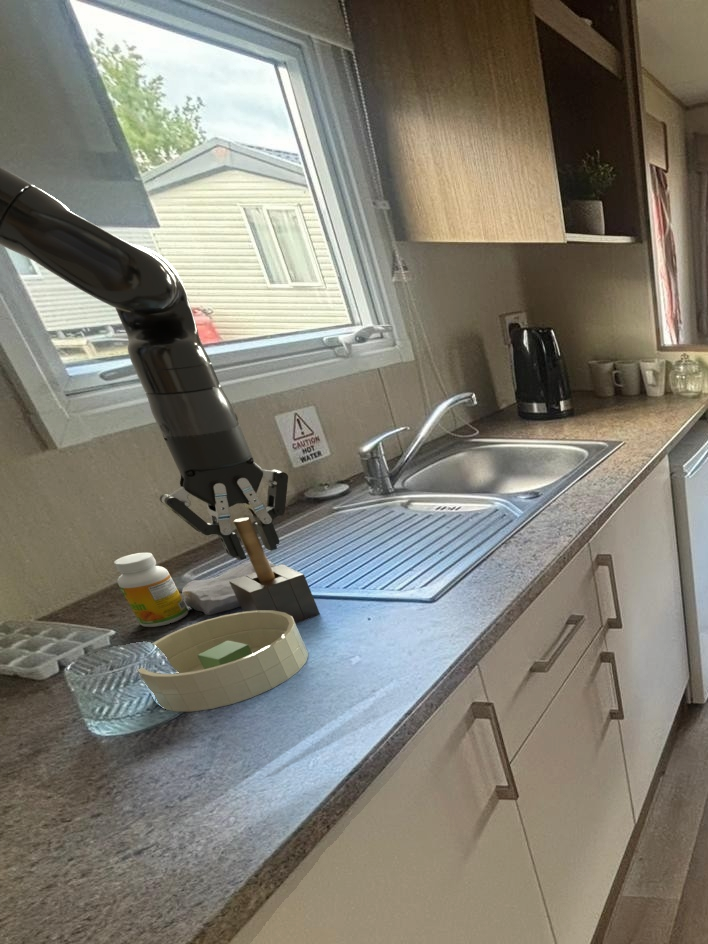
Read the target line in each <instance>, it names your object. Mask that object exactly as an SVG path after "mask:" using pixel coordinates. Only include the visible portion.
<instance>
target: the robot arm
mask: <svg viewBox="0 0 708 944" xmlns="http://www.w3.org/2000/svg"><path fill="white" fill-rule="evenodd" d="M0 246H2V247H4V248H6V249H8V250H10V251H13V252H14V253H17V254H19V255H22V256H24V257H25V258H28V259H30V260H32V261H33V262H35V263H37V264H38V265H39V266H41V267H43V268H44V269H46V270H47V271H49V272H51V273H52V274H54V275H55V276H57V277H59V278H60V279H61V280H64V281H65V282H67V283H69V284H70V285H72V286H74V287H75V288H77V289H78V290H81V291H82V292H84V293H85V294H88V295H89V296H90V297H93V298H95V299H97V300H98V301H101V302H102V303H104V304H106V305H109V306H110V307H113V308H115V311H116V313H117V315H118V318H119V320H120V322H121V325H122V326H123V329H124V331H125V333H126V336H127V340H128V341H127V353H128V356H129V359H130V362H131V365H132V367H133V369H134V371H135V373H136V375H137V378H138V380H139V382H140V384H141V386H142V389H143V390H144V393H145V395H146V398H147V400H148V404H149V407H150V411H151V413H152V416H153V419H154V420H155V422H156V425H157V427H158V429H159V431H160V433H161V435H162V437H163V440H164V442H165V445H166V446H167V449H168V450H169V452H170V454H171V457H172V459H173V460H174V464H175V465H176V467H177V469H178V472H179V474H180V480H179V487H178V488H176V489H175V490H173V491H171V492H169V494H166V493H164V494H162V495H160V496H159V501H160V503H162V504H163V505H164V506H165V507H167V508H168V509H169V510H170V511H171V512H173V513H174V514H175V515H176V516H177V517H179V518H180V519H182V521H184V522H185V523H186V524H188V525H189V526H190V528H193V530H194V531H196V532H198V533H201V534H202V535H205V536H211V535H217V536H218V538H219V541H220V542H221V545H222V547H223V549H224V551H225V553H226V554H227V555H228V556H230V557H232V558H235V559H236V560H239V561H242V560H246V559H247V555H246V553H245V551H244V548H243V545H242V544H241V541H240V539H239V538H238V535H237V533H236V532H233V527H232V523H231V519H230V517H231V511H230V508H231V507H233V506H235V505H237V504H242V505H243V506H244V508H246V509H247V511H248V512H249V513H250V515H251V516H252V518H253V519H254V520H255V521H256V522H255V523H254V525H255V527H256V530H257V532H258V535H259V537H260V540H261V542H262V544H263V546H264V548H265V549H266V550H269V551H270V552H273V551H275V550H278V547H277V546H278V545H280V539H279V536H278V534H277V531H276V529H275V526H274V523H273V521H274V520H275V519H277V518H278V517H280V516H283V515H285V512H286V504H287V493H288V483H289V475H288V473H287V472H284V471H281V470H278V469H271V470H269V469H263V468H262V467H261V466H260V465H259V464H257V463H256V461H255V459H254V457H253V454H252V452H251V450H250V447H249V445H248V442H247V440H246V438H245V434H244V433H243V430H242V427H241V425H240V422H239V418H238V415H237V413H236V412H235V411H234V408H233V406H232V403H231V402H230V400H229V398H228V397H227V395H226V393H225V391H224V390H223V388H222V385H221V384H220V381H219V378H218V376H217V373H216V371H215V369H214V365H213V364H212V362H211V360H210V356H209V355H208V353H207V351H206V349H205V346H204V345H203V343H202V341H201V338H200V335H199V331H198V327H197V323H196V320H195V316H194V313H193V309H192V306H191V304H190V301H189V297H188V295H187V294H188V293H187V292H186V289H185V287H184V284H183V281H182V280H181V279H182V278H181V277H180V276H179V274H178V272H177V270H176V269H175V268H174V267H173V265H172V264H171V263H170V262H169V261H168V260H167V259H166V258H164V257H163V256H162V255H160V254H159V253H157V252H156V251H154V250H151V249H150V248H147V247H144V246H141V245H136V244H132V243H129V242H128V241H125V240H123V239H121V238H119V237H118V236H116V235H114V234H112V233H110V232H108V231H107V230H104V229H103V228H101V227H99V226H97V225H95V224H94V223H93V222H90V221H88V220H86V219H85V218H84V217H81V216H79V215H77V214H75V213H74V212H72V211H70V209H69V208H68V207H67V206H66V205H65V204H64V203H62V202H61V201H60V200H58V199H56V198H55V197H54V196H52V195H50V194H49V193H47V192H46V191H44V190H42V189H41V188H40V187H37V186H35V185H34V184H32V183H31V182H28V181H27V180H25V179H24V178H22V177H20V176H18V175H17V174H14V173H13V172H11V171H9V170H8V169H5V168H4V167H2V166H0ZM262 480H263V482H264V484H265V485H266V486H268V488H267V498H266V507H265V504H264V503H263V501H262V500H261V498H260V496H259V495H258V494H257V493H258V491H259V488H260V485H261V482H262ZM189 495H191V496H193V497H195V498H196V499H199V500H200V501H202V502H204V503H205V504H206V510H207V513H208V514H209V516H210V521H211V522H206V520H204V519H203V518H201V517H200V516H199V515H198V514H197V513H195V512H194V511H193V510H192V509H191V508H189V507H190V506H191V505H192V502H191V501H190V499H189Z"/></svg>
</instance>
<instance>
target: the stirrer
mask: <svg viewBox="0 0 708 944" xmlns="http://www.w3.org/2000/svg"><path fill="white" fill-rule="evenodd" d="M232 523H233V525H234V527H235V530H236V532H237V534H238V536H239V538H240V539H239V540H240V542H241V543H242V546H243V547H244V548H243V549H245V552H246V554H247V556H248V559H249V561H251V563H252V565H253V568H254V570H255V572H256V574H257V577H258V579H259V581H260V583H263V582H266V581H269V580H272V579H275V576H274V573H273V571H272V569H271V566H270V564H269V562H268V561H269V559H268V557H267V555H266V553H265V550H264V547H263V545H262V544H261V541H260V539H259V536H258V533H257V532H256V529H255V527H254V524H253V522H252V520H251V518H250V517H249V516H248V517H247V516H246V517H239V518H236V519H234V520H233V521H232Z"/></svg>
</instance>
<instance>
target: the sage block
mask: <svg viewBox="0 0 708 944" xmlns="http://www.w3.org/2000/svg"><path fill="white" fill-rule="evenodd" d="M250 654H252V652H251V649H250V647H249V645H248V644H243V643H238V642H233V641H228V640H227V641H225V642H223V643H221V644H219V645H217V646H215V647H213V648H211V649H209V650H207V651H205V652H202V653H200V654H198V655H197V656H198V658H199V660H200V662H201V663H202V665H203V667H204V669H208V668H213V667H216V666H219V665H223V664H226V663H229V662H232V661H235V660H238V659H240V658H243V657H245V656H248V655H250Z"/></svg>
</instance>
